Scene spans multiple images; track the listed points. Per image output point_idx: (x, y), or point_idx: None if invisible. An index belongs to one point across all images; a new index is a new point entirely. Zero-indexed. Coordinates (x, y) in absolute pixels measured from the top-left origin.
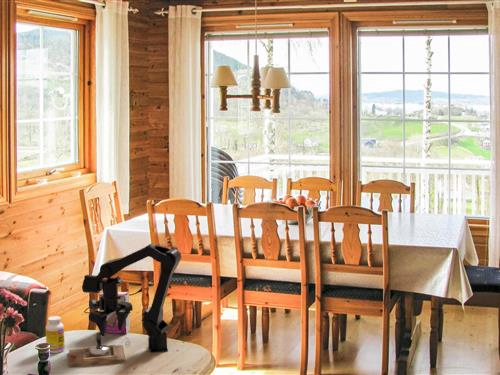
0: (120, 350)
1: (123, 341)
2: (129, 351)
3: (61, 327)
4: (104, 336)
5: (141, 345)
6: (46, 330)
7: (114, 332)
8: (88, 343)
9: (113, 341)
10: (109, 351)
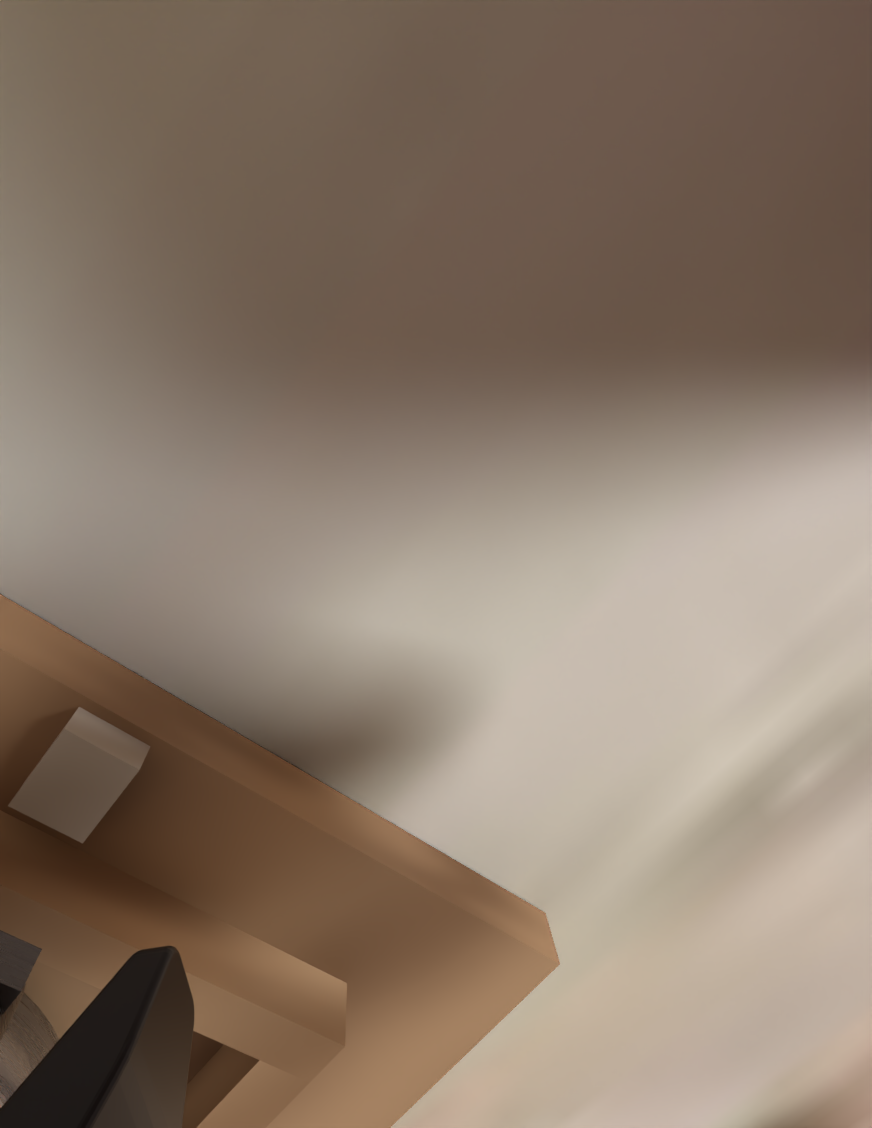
0: (321, 1121)
1: (843, 653)
2: (493, 1074)
3: None
4: (184, 1025)
5: (817, 1010)
6: None
7: None
8: (243, 36)
9: (740, 487)
10: None
